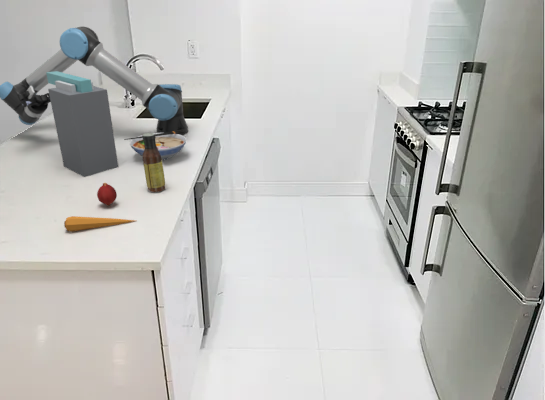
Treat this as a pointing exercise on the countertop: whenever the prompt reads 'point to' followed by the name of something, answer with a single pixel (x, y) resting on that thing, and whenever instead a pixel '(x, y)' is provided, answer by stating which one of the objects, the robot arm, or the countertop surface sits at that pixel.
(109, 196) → the onion
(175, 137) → the ramen bowl
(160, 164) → the sauce bottle
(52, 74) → the teal rectangular bar
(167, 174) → the countertop surface
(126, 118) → the countertop surface
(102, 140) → the block
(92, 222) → the carrot
